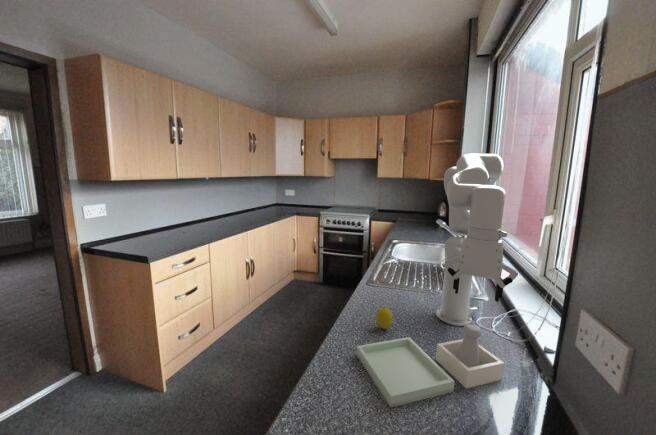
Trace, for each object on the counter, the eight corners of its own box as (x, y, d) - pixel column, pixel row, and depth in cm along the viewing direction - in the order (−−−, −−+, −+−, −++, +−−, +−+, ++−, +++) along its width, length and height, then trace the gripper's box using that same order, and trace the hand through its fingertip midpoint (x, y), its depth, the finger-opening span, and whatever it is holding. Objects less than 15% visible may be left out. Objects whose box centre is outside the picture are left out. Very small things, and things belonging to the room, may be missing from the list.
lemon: (391, 334, 97) (393, 312, 96) (375, 331, 98) (376, 310, 97) (391, 325, 103) (392, 304, 101) (375, 323, 104) (377, 303, 103)
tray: (408, 345, 91) (409, 337, 91) (453, 391, 72) (454, 381, 72) (356, 355, 86) (357, 345, 85) (390, 407, 67) (391, 396, 66)
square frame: (468, 352, 89) (469, 337, 88) (502, 379, 77) (504, 362, 76) (435, 359, 85) (437, 343, 84) (466, 388, 74) (468, 371, 73)
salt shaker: (451, 365, 83) (456, 323, 80) (466, 360, 85) (470, 319, 83) (468, 378, 77) (474, 334, 75) (483, 373, 80) (489, 330, 77)
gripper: (521, 235, 74) (512, 297, 77) (449, 227, 82) (443, 284, 85) (525, 241, 67) (515, 309, 70) (446, 232, 75) (440, 293, 78)
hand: (476, 295), depth 77 cm, fingers open, 9 cm apart
